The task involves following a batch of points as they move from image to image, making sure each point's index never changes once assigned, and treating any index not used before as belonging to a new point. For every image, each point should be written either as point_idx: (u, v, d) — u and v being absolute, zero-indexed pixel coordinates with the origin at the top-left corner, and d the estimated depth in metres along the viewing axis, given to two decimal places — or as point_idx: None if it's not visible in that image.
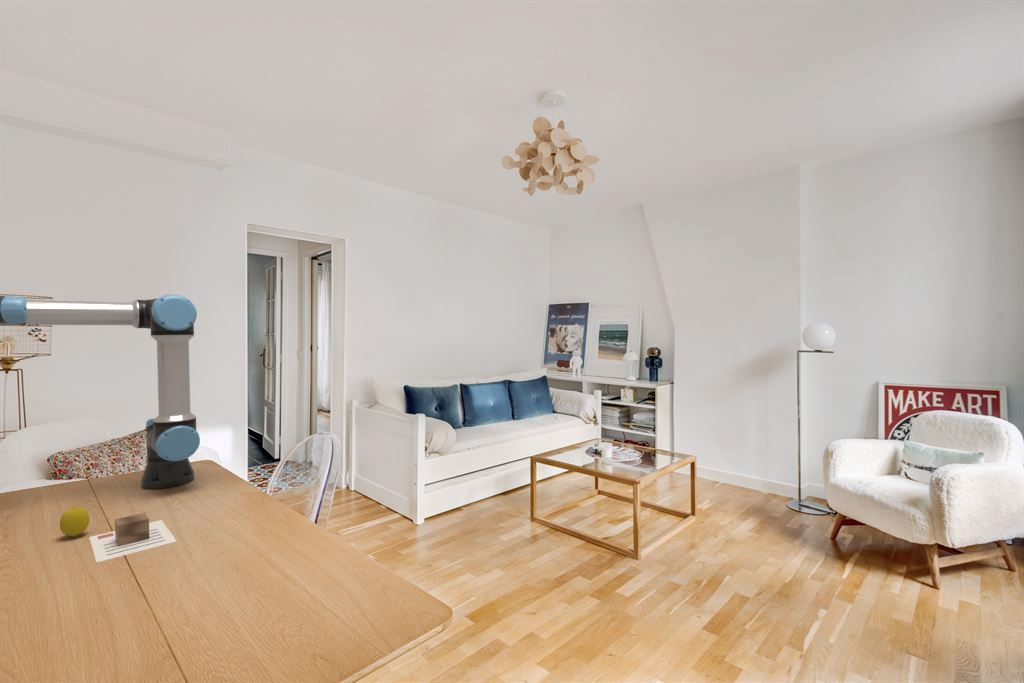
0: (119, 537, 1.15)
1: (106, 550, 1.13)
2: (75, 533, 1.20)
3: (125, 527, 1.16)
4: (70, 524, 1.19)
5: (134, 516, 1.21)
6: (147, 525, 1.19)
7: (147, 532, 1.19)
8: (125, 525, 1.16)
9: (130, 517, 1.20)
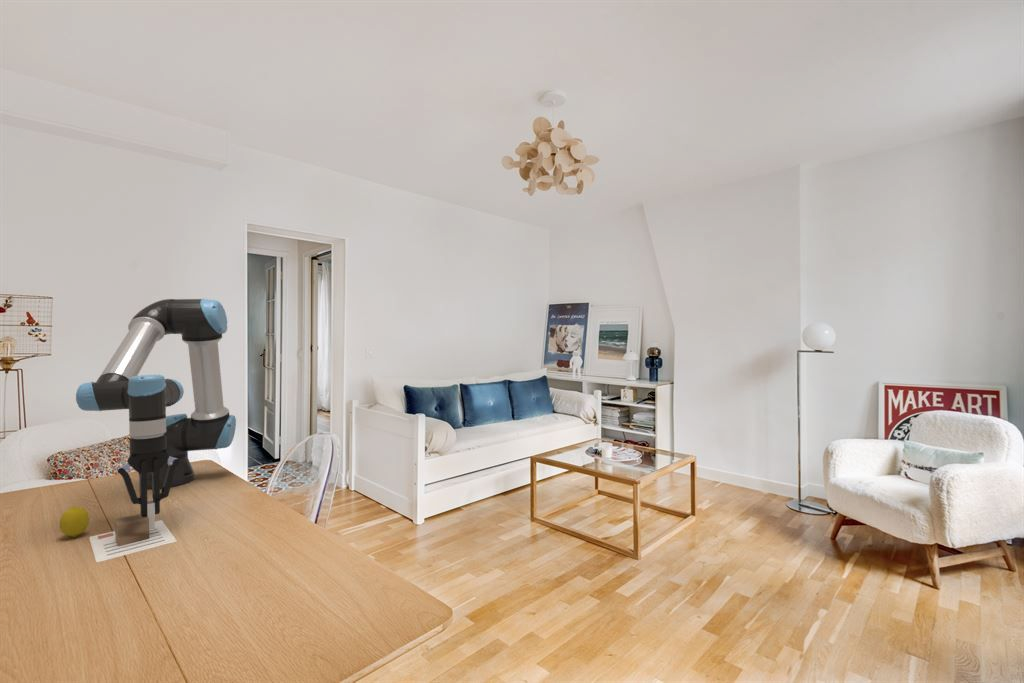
0: (119, 537, 1.15)
1: (106, 550, 1.13)
2: (75, 533, 1.20)
3: (125, 527, 1.16)
4: (70, 524, 1.19)
5: (134, 516, 1.21)
6: (147, 525, 1.19)
7: (147, 532, 1.19)
8: (125, 525, 1.16)
9: (130, 517, 1.20)
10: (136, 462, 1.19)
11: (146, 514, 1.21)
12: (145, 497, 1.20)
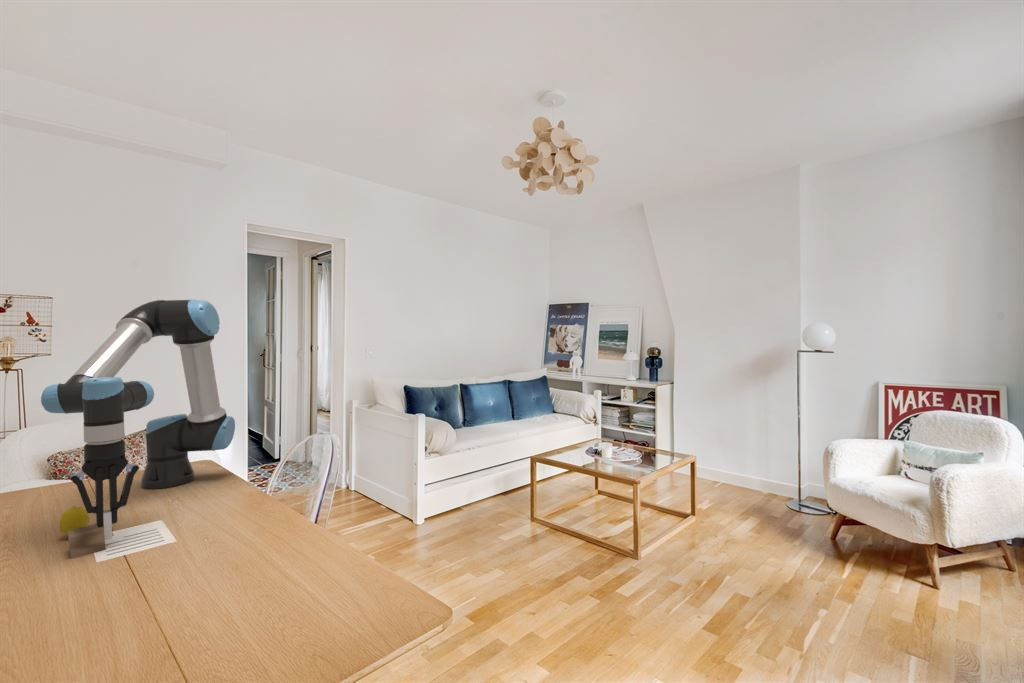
0: (71, 550, 1.09)
1: (106, 550, 1.13)
2: None
3: (77, 539, 1.10)
4: (70, 524, 1.19)
5: (89, 527, 1.14)
6: (102, 535, 1.13)
7: (103, 543, 1.13)
8: (78, 537, 1.10)
9: (84, 527, 1.14)
10: (91, 469, 1.13)
11: (102, 524, 1.15)
12: (101, 506, 1.14)
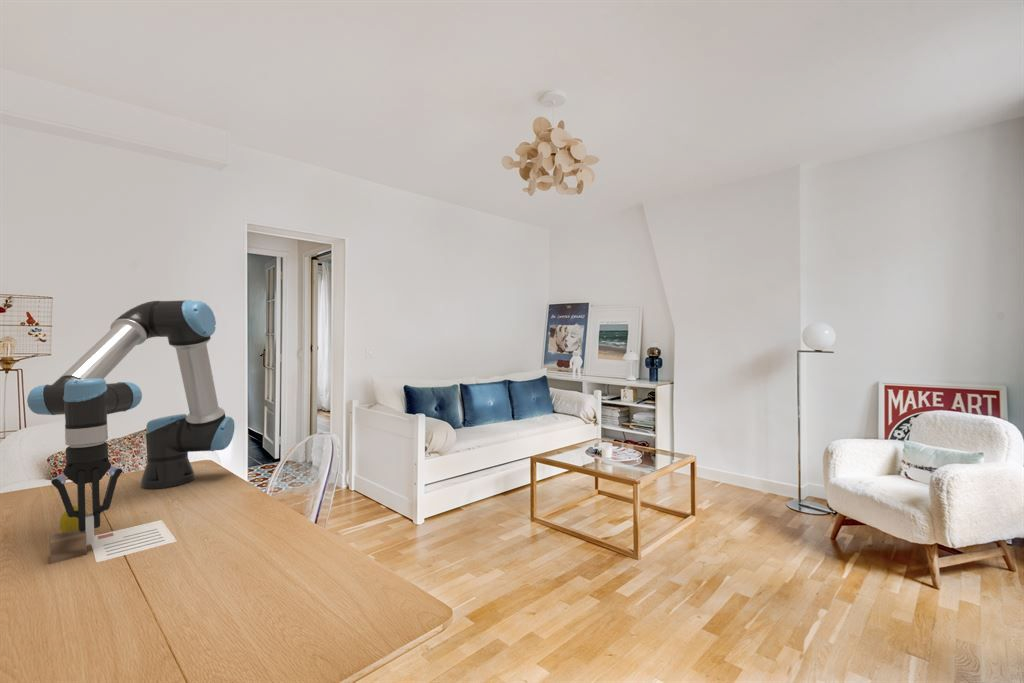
0: (52, 555, 1.07)
1: (106, 550, 1.13)
2: None
3: (58, 545, 1.08)
4: (70, 524, 1.19)
5: (71, 532, 1.12)
6: (84, 542, 1.11)
7: (84, 549, 1.11)
8: (59, 542, 1.08)
9: (67, 533, 1.12)
10: (72, 472, 1.11)
11: (84, 528, 1.12)
12: (83, 510, 1.12)
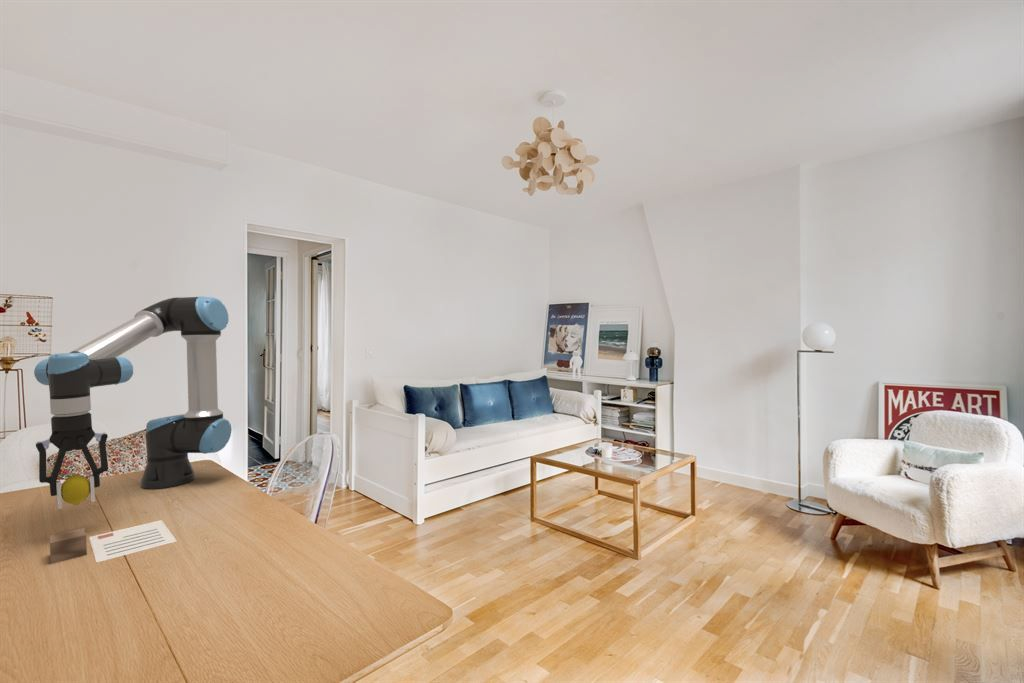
0: (52, 555, 1.07)
1: (106, 550, 1.13)
2: (76, 501, 1.20)
3: (58, 545, 1.08)
4: (71, 492, 1.19)
5: (71, 532, 1.12)
6: (84, 542, 1.11)
7: (84, 549, 1.11)
8: (59, 542, 1.08)
9: (67, 533, 1.12)
10: (57, 440, 1.18)
11: (56, 493, 1.19)
12: (55, 476, 1.18)
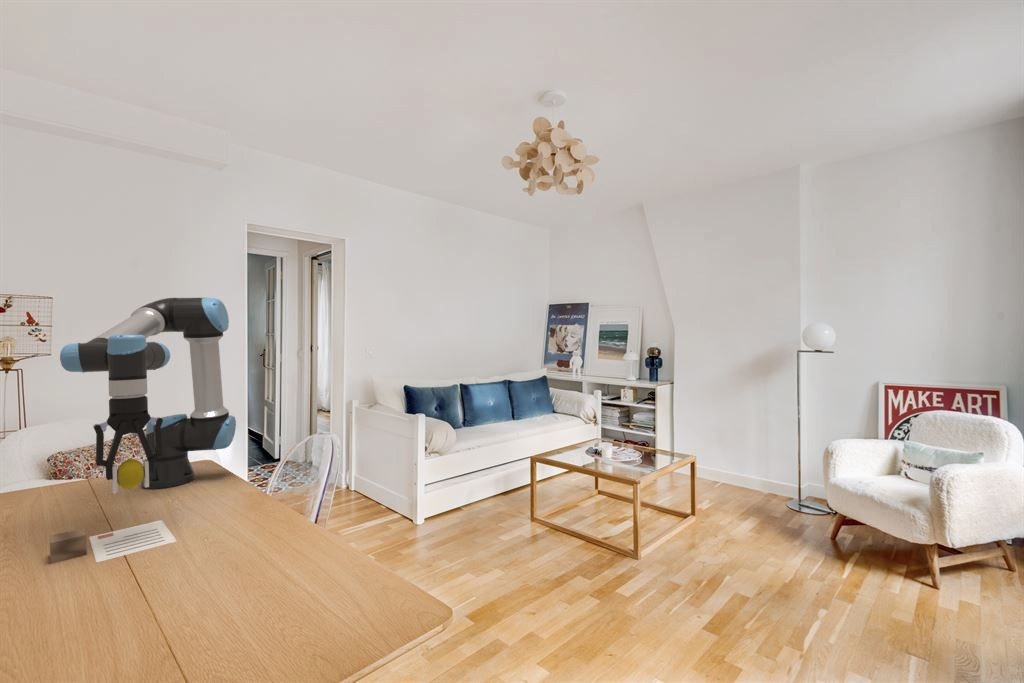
0: (52, 555, 1.07)
1: (106, 550, 1.13)
2: (132, 485, 1.18)
3: (58, 545, 1.08)
4: (127, 476, 1.17)
5: (71, 532, 1.12)
6: (84, 542, 1.11)
7: (84, 549, 1.11)
8: (59, 542, 1.08)
9: (67, 533, 1.12)
10: (115, 423, 1.16)
11: (111, 477, 1.16)
12: (112, 459, 1.16)
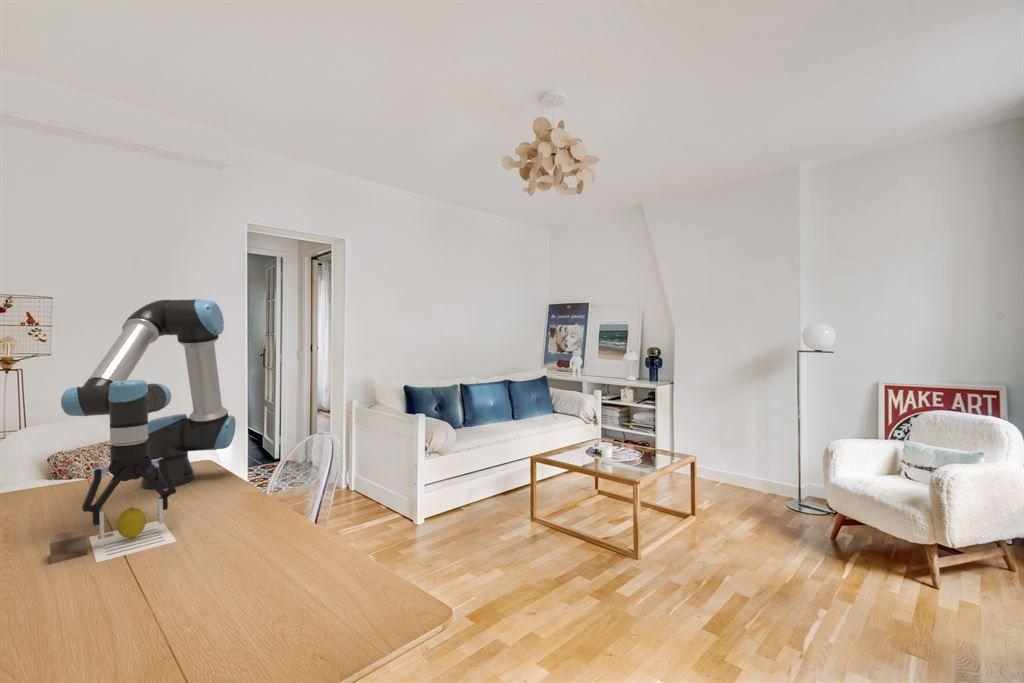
0: (52, 555, 1.07)
1: (106, 550, 1.13)
2: (133, 534, 1.18)
3: (58, 545, 1.08)
4: (128, 526, 1.17)
5: (71, 532, 1.12)
6: (84, 542, 1.11)
7: (84, 549, 1.11)
8: (59, 542, 1.08)
9: (67, 533, 1.12)
10: (115, 470, 1.16)
11: (98, 522, 1.14)
12: (100, 505, 1.14)
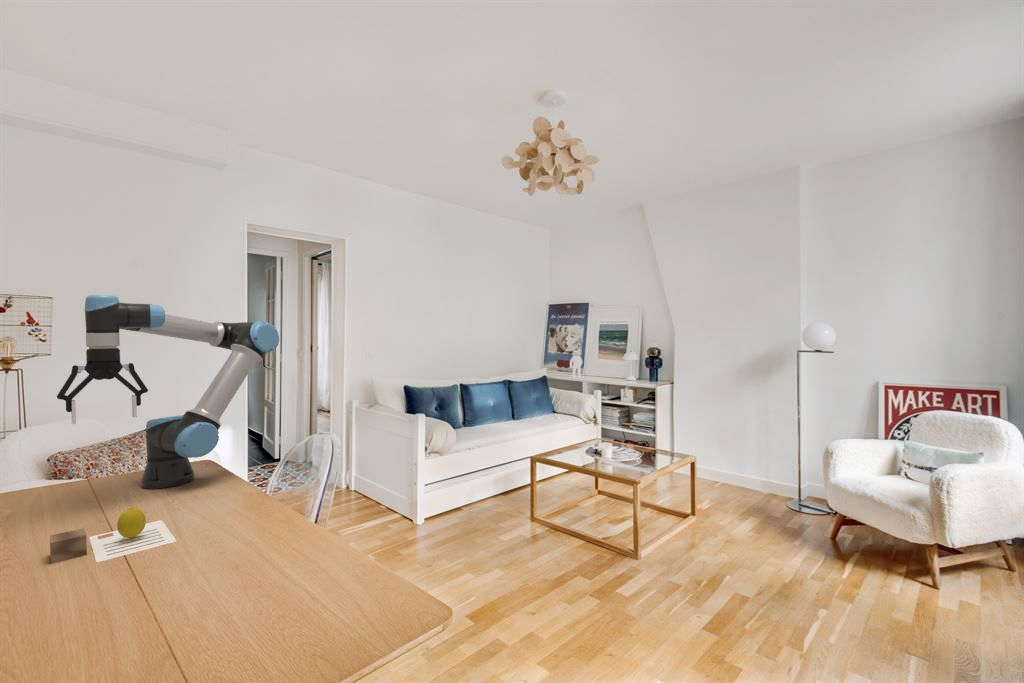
0: (52, 555, 1.07)
1: (106, 550, 1.13)
2: (133, 535, 1.18)
3: (58, 545, 1.08)
4: (128, 526, 1.17)
5: (71, 532, 1.12)
6: (84, 542, 1.11)
7: (84, 549, 1.11)
8: (59, 543, 1.08)
9: (67, 533, 1.12)
10: (90, 370, 1.37)
11: (71, 410, 1.34)
12: (73, 395, 1.34)
